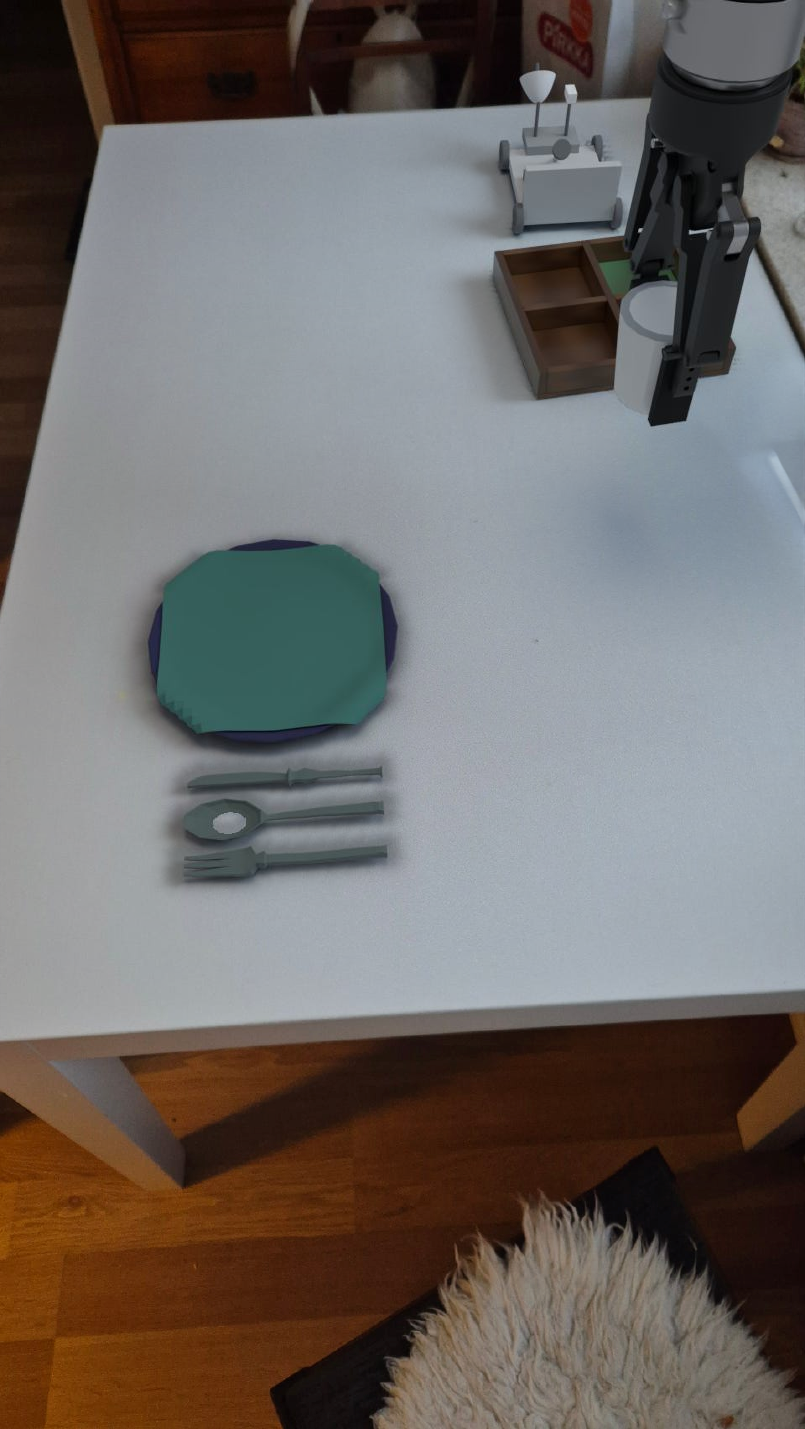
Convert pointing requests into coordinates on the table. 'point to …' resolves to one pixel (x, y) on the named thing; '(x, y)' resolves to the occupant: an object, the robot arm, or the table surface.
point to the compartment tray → (571, 312)
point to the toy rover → (559, 169)
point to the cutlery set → (272, 671)
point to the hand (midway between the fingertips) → (650, 386)
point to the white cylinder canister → (643, 341)
